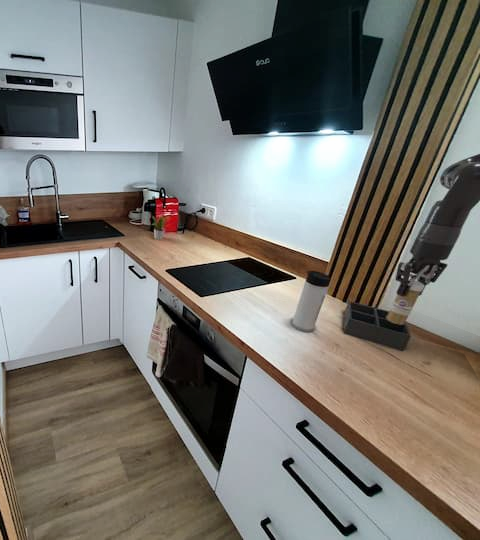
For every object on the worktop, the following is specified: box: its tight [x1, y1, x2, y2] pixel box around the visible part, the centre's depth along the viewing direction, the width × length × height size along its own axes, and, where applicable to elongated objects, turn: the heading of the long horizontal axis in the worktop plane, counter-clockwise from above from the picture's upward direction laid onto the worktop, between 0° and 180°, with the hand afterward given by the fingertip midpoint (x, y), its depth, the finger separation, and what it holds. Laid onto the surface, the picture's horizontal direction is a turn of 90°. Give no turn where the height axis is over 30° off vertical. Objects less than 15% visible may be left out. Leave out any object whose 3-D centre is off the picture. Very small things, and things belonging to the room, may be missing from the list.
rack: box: [342, 300, 412, 352], centre depth 94 cm, size 15×15×6 cm
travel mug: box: [291, 270, 332, 333], centre depth 93 cm, size 6×7×20 cm
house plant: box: [151, 214, 170, 241], centre depth 180 cm, size 14×14×16 cm
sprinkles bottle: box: [386, 279, 426, 325], centre depth 85 cm, size 5×5×13 cm
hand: (408, 294), depth 84 cm, fingers closed on sprinkles bottle, 4 cm apart
